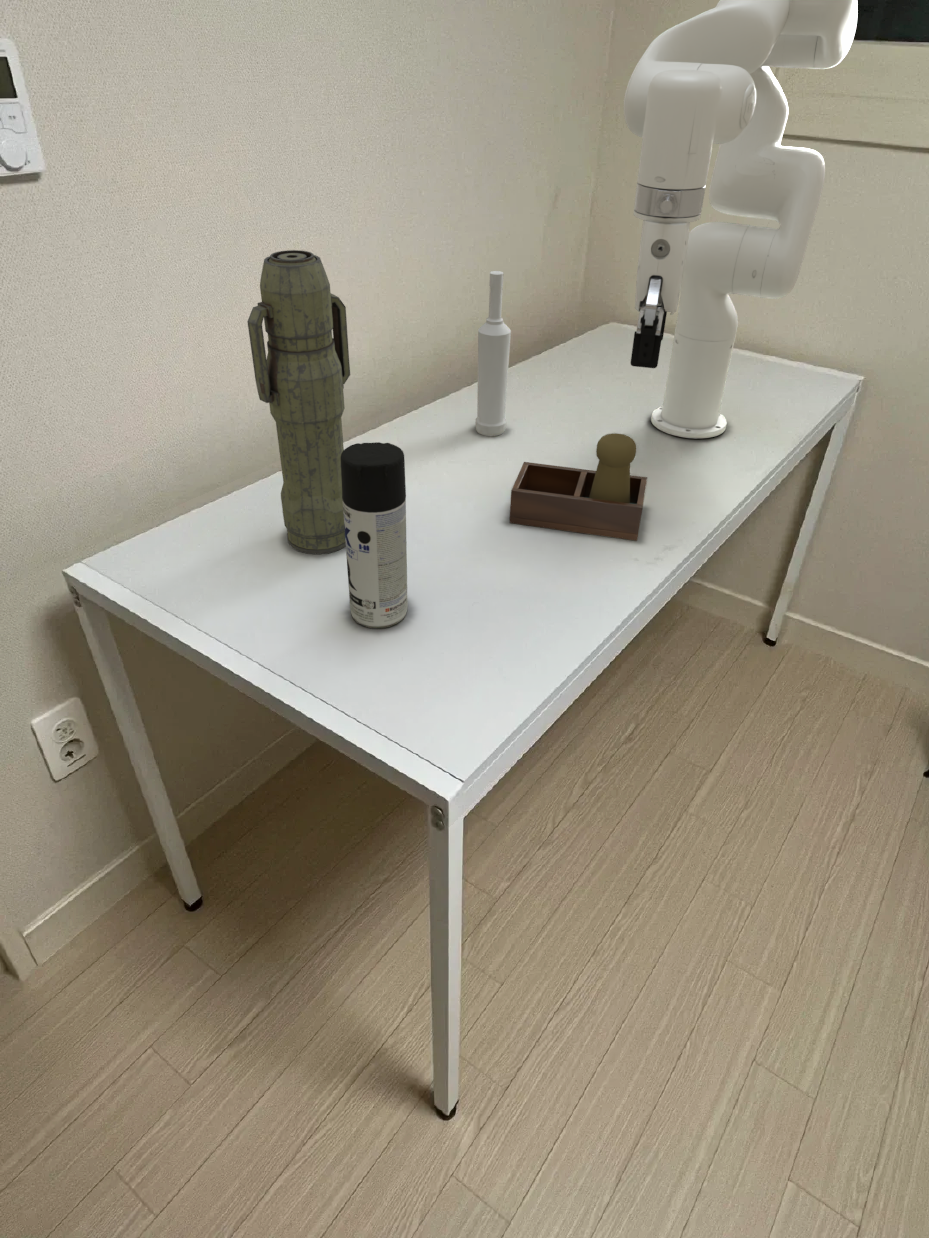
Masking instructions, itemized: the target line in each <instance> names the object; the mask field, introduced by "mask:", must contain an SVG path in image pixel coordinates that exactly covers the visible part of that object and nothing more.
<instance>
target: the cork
mask: <svg viewBox="0 0 929 1238" xmlns="http://www.w3.org/2000/svg"><path fill="white" fill-rule="evenodd" d="M595 450H596V451H595V453H596V454H595V455H596V457H597V459H598V463H597V467H596V470H595V471H596V474H595V478H594V481H593V485H592V489H591V492H590V496H589V498H592V499H600V500H607V501H615V502H623V503H630V475H631V463H632V462H633V461H634V460H635V458H636V455H637V444H636V442H635V439H633V437H630V435H628V434H624V433H618V432H617V433H615V432H614V433H608V434H605V435H603V436H601V438H600V439H598V442H597V444H596V449H595Z"/></svg>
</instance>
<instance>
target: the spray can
mask: <svg viewBox="0 0 929 1238" xmlns="http://www.w3.org/2000/svg"><path fill="white" fill-rule="evenodd" d="M341 478H342V499H343V514H344V527H345V541H346V547H345V553H346V555H345V556H346V568H347V583H348V597H349V598H348V599H349V608H350V614H351V618H352V619H353V620H354V621H355V622H356V623H357V624H359V625H361V626H363V627H364V628H369V629H386V628H390V627H393V626H395V625H397V624H399V623H400V622H402V621H403V620H404V618H405V617H406V616H407V611H408V607H409V605H408V552H407V545H408V544H407V542H408V541H407V491H406V489H407V486H406V463H405V453H404V451H403V450H402V448H401V447H399V446H397V445H395V444H393V443H390V442H380V441H378V442H376V441H375V442H362V443H354V444H351V445H348V446H347V447H345V448H344V450H343V452H342V454H341Z"/></svg>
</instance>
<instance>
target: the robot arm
mask: <svg viewBox="0 0 929 1238" xmlns="http://www.w3.org/2000/svg"><path fill="white" fill-rule="evenodd" d="M858 11H859V10H858V0H719V1H718V2H717V4H716V5H715V7H712V8H710V9H708V10H706V11H703V12H701V13H699V14H697V15H695V16H693V17H691V18H689V19H686V20H684V21H682V22H680V23H678V24H676V25H674V26H672V27H670V28H668V29H665V31H663V32H662V33H660V34H659V35H657V36H656V37H655V38H654V39H653V40H652V41H651V42H650V44H649V45H648V46H647V47H646V50H645V51H644V53H643V54H642V55H641V57H640V58H639V60H638V62H637V64H636V65H635V67H634V69H633V71H632V73H631V75H630V77H629V80H628V82H627V86H626V89H625V93H624V98H623V108H622V109H623V119H624V122H625V125H626V127H627V129H628V130H629V131H630V132H631V134H633V135H635V136H637V137H638V138H641V147H640V154H639V164H638V171H637V179H636V186H635V187H636V188H635V196H634V205H633V212H632V213H633V214H632V216H633V217H635V218H637V219H639V220H642V226H641V233H640V241H639V249H638V250H639V251H638V260H637V268H636V269H637V270H636V281H635V283H636V284H635V295H634V296H635V298H634V301H635V302H634V309H635V310H636V311H637V312H638V313H639V314H638V318H637V319H638V320H637V326H636V331H634V334H633V342H632V349H631V356H630V366H632V367H637V368H646V369H656V368H658V366H659V365H658V364H659V360H660V359H659V358H660V353H661V347H662V346H661V345H662V341H663V339H664V334H665V327H666V320H667V316H668V315H667V314H668V313H670V314H669V315H670V316H672V315H674V314H676V313H677V315H676V316H677V317H676V322H675V323H676V324H675V330H674V334H673V341H672V347H671V352H670V357H669V365H668V370H667V375H666V382H665V388H664V394H663V401H662V405H661V406H659V407H657V408H655V409H653V411H652V412H651V418H650V421H651V423H652V425H653V426H654V427H655V428H656V429H657V430H659V431H661V432H663V433H666V434H668V435H672V436H674V437H678V438H679V437H680V438H686V439H709V438H713V437H714V438H715V437H717V436H720V435H721V434H723V433H724V432H725V431H726V430H727V427H728V426H727V425H728V420H727V419H726V417H725V416H724V415H723V414H721V408H722V404H723V403H722V402H723V399H724V394H725V389H726V383H727V380H728V375H729V370H730V366H731V361H732V355H733V351H734V347H735V341H736V337H737V332H738V327H739V317H738V313H737V310H736V307H735V305H734V303H733V300H732V299H731V297H730V295H740V296H746V297H747V296H748V297H754V298H760V299H769V300H779V299H783V298H785V297H786V296H789V294H790V293H791V292H792V291H793V289H794V287H795V285H796V283H797V281H798V278H799V276H800V272H801V269H802V265H803V262H804V258H805V255H806V252H807V248H808V244H809V240H810V237H811V234H812V230H813V226H814V223H815V220H816V216H817V213H818V209H819V206H820V201H821V196H822V193H823V189H824V184H825V176H826V163H825V160H824V157H823V155H822V154H821V153H820V152H818V151H817V150H815V149H811V148H808V147H797V146H787V145H786V146H784V145H781V143H782V139H783V135H784V132H785V128H786V124H787V121H788V118H789V105H788V100H787V97H786V95H785V93H784V92H783V89H782V87H781V85H780V83H779V81H778V80H777V78H776V76H775V75H774V74H773V72H772V70H771V68H770V67H772V68H787V69H810V70H825V69H831V68H834V67H837V65H839V64H840V63H841V62H842V61H844V58H845V57H846V56H847V55H848V53H849V51H850V49H851V46H852V44H853V41H854V38H855V34H856V30H857V24H858V14H859V13H858ZM713 144H715V145H719V146H718V149H717V152H716V153H717V154H716V156H715V157H716V158H715V162H714V165H713V169H712V173H711V177H710V182H709V189H708V201H709V205H710V207H711V208H712V209H713V210H715V211H716V212H719V213H721V214H725V215H729V216H736V217H744V218H751V219H753V218H754V219H760V220H761V219H763V220H771V221H776V222H777V223H778V224H779V227H778V228H776V227H768V226H767V227H766V226H759V225H751V224H743V223H735V222H727V221H709V222H704V223H700V224H698V225H696V226H695V227H693V228H692V229H691V230H690V228H691V227H690V226H691V223H694V222H698V221H699V220H700V219H701V216H702V211H703V205H704V199H705V193H706V188H707V187H706V185H707V182H708V174H709V169H710V165H711V164H710V163H711V158H712V157H711V156H712V152H713Z"/></svg>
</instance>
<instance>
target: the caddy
mask: <svg viewBox="0 0 929 1238" xmlns="http://www.w3.org/2000/svg"><path fill="white" fill-rule="evenodd" d="M595 474H596V470H592V469H585V468H578V467H577V468H575V467H568V466H561V465H553V464H545V463H536V462H530V461H529V462H528V461H523V463H522V465H521V468H520V470H519V472H518V474H517V476H516V479H515V481H514V484H513V486H512V488H511V490H510V504H509V518H508V519H509V520H508V521H509V524H514V525H523V526H528V527H536V528H543V529H550V530H557V531H564V532H570V533H571V532H572V533H579V534H586V535H593V536H601V537H607V538H615V539H622V540H628V541H638V539H639V532H640V525H641V520H642V516H643V515H642V513H643V507H644V502H645V496H646V489H647V483H648V477H647V476H642V475H633V474H630V503H623V502H615V501H607V500H600V499H592V498H589V496H590V492H591V489H592V485H593V481H594V478H595Z"/></svg>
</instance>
